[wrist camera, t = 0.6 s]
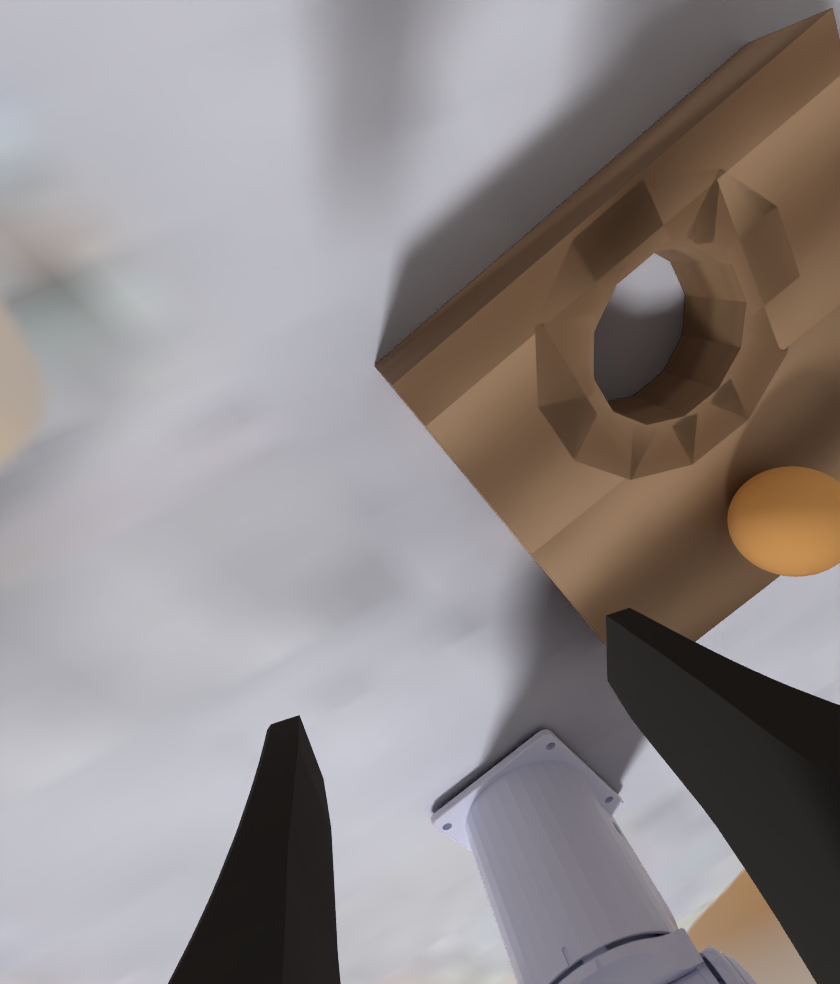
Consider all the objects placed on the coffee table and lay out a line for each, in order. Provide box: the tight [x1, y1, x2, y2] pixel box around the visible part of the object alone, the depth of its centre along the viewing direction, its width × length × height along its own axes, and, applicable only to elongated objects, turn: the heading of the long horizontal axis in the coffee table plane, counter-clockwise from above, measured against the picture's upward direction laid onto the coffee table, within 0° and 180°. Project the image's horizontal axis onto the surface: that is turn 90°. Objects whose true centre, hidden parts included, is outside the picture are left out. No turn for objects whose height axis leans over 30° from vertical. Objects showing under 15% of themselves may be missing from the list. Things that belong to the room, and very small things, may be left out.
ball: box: [727, 466, 840, 577], centre depth 20 cm, size 4×4×4 cm
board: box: [375, 8, 840, 647], centre depth 21 cm, size 18×16×3 cm
